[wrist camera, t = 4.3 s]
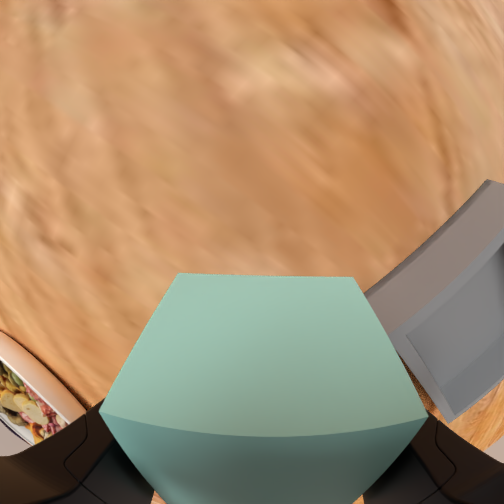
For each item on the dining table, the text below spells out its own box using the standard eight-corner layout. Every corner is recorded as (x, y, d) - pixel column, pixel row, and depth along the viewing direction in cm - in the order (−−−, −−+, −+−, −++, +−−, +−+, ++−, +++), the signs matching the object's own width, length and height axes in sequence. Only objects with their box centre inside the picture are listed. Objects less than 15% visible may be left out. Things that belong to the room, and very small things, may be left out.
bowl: (4, 404, 33) (-11, 427, 26) (-46, 284, 22) (-77, 308, 15) (124, 468, 35) (113, 501, 27) (96, 366, 24) (63, 420, 16)
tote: (519, 312, 20) (543, 335, 15) (432, 392, 23) (448, 423, 19) (486, 179, 15) (530, 192, 11) (362, 294, 19) (385, 336, 14)
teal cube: (352, 277, 8) (428, 416, 3) (326, 392, 10) (346, 508, 5) (178, 272, 8) (98, 411, 3) (195, 389, 10) (167, 504, 5)
